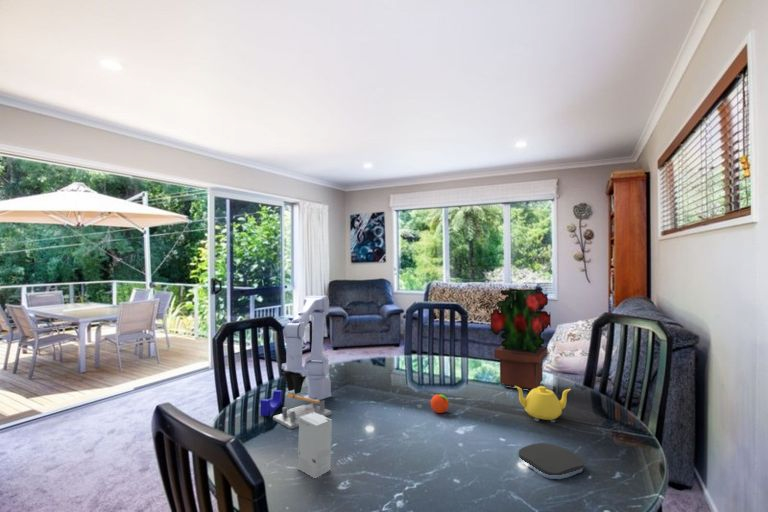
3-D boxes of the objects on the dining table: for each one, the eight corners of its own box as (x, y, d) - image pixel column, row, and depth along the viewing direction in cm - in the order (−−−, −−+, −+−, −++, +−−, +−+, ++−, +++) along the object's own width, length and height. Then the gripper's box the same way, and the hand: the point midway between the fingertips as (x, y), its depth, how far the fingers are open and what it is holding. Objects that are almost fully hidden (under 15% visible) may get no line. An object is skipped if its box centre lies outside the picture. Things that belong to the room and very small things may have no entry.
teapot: (565, 410, 151) (565, 381, 151) (576, 427, 136) (576, 394, 136) (511, 407, 155) (511, 378, 155) (517, 422, 140) (516, 391, 140)
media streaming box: (551, 484, 102) (551, 472, 102) (512, 458, 116) (512, 448, 116) (590, 471, 108) (590, 461, 108) (549, 448, 122) (549, 439, 122)
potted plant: (551, 383, 184) (550, 289, 185) (542, 397, 166) (541, 292, 166) (504, 376, 196) (503, 287, 197) (491, 388, 177) (490, 290, 178)
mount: (312, 406, 157) (312, 394, 157) (331, 414, 149) (331, 402, 149) (272, 419, 144) (272, 407, 144) (290, 429, 136) (290, 416, 136)
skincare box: (296, 469, 110) (296, 417, 110) (313, 461, 114) (313, 410, 114) (316, 480, 104) (315, 425, 104) (332, 470, 109) (332, 417, 109)
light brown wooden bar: (316, 403, 153) (317, 398, 154) (321, 405, 151) (323, 400, 151) (286, 396, 144) (288, 392, 144) (291, 399, 141) (293, 394, 142)
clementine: (454, 412, 149) (454, 394, 149) (444, 418, 144) (444, 399, 144) (437, 407, 155) (437, 389, 155) (427, 412, 150) (427, 394, 150)
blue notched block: (271, 404, 160) (271, 389, 160) (281, 405, 159) (281, 390, 159) (256, 415, 148) (256, 400, 148) (267, 416, 147) (267, 400, 147)
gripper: (274, 353, 146) (274, 389, 146) (296, 360, 136) (296, 399, 136) (290, 350, 151) (290, 385, 151) (312, 356, 141) (312, 394, 141)
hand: (294, 391), depth 144 cm, fingers open, 4 cm apart
